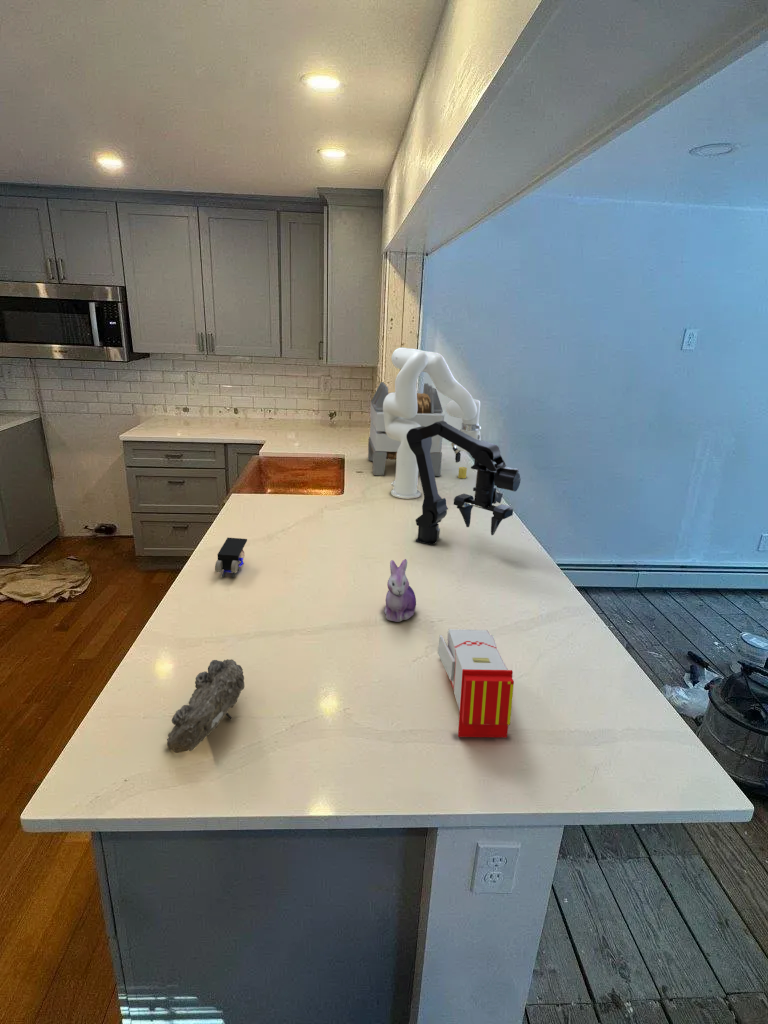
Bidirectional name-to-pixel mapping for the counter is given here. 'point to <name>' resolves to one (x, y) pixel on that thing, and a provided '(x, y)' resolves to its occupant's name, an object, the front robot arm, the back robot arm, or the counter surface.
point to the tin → (462, 472)
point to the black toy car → (230, 556)
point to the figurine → (399, 594)
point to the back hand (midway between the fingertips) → (466, 463)
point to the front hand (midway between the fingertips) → (480, 530)
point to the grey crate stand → (426, 415)
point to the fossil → (206, 705)
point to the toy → (478, 682)
